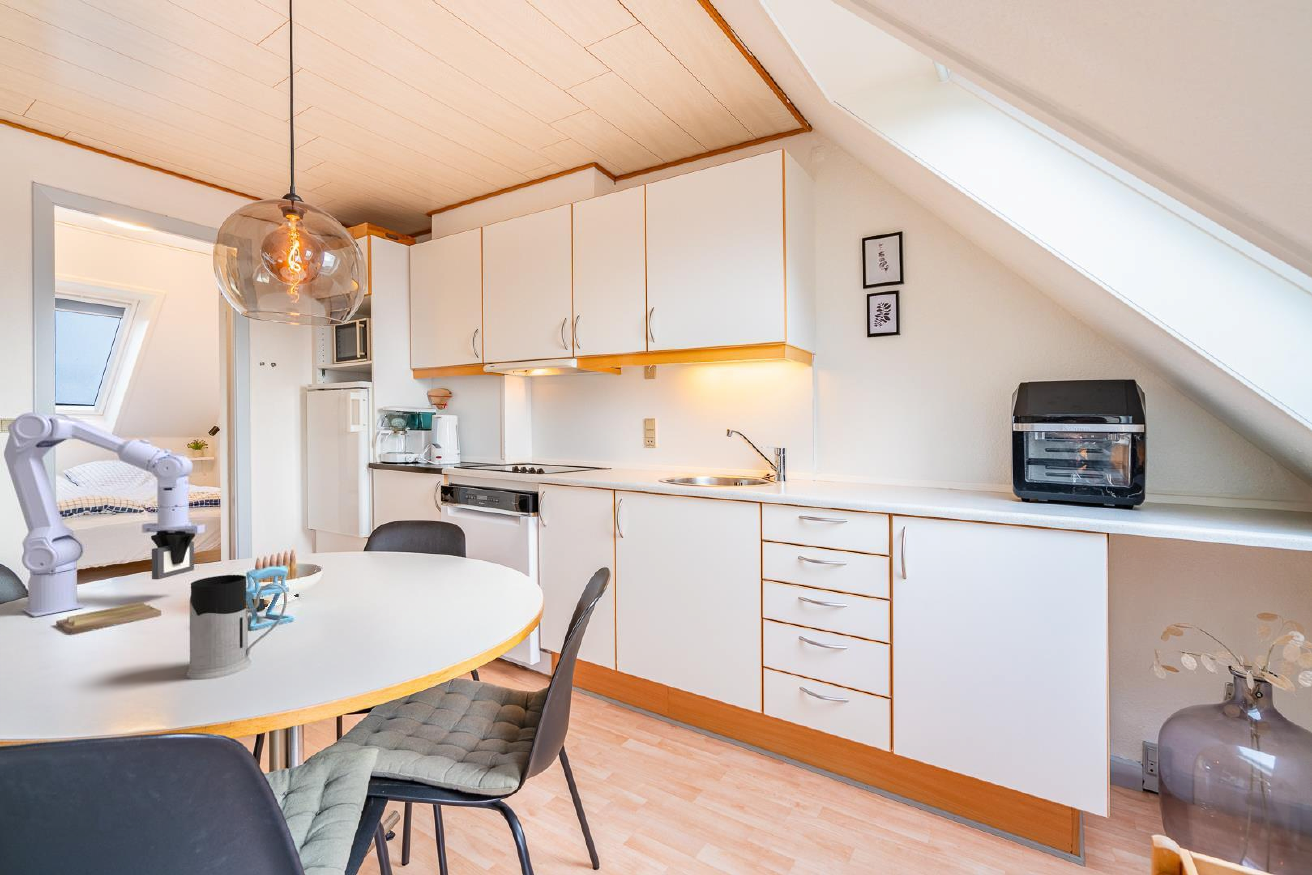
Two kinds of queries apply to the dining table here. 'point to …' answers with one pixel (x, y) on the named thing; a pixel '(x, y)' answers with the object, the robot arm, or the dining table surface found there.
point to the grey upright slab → (170, 562)
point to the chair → (269, 590)
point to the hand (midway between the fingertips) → (173, 563)
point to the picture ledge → (107, 617)
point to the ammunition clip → (290, 575)
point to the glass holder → (221, 626)
